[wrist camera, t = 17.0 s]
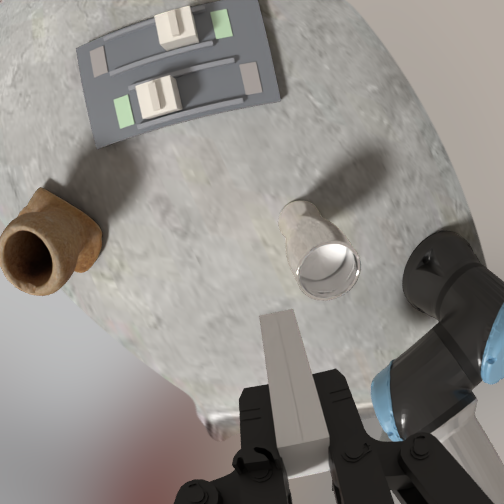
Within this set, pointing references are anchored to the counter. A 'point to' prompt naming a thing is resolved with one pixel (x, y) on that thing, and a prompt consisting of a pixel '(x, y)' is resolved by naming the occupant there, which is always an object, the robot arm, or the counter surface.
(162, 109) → the tab
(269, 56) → the switch board
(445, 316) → the robot arm
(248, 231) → the counter surface
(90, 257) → the clay platform pipe
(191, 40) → the tab
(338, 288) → the beer glass
